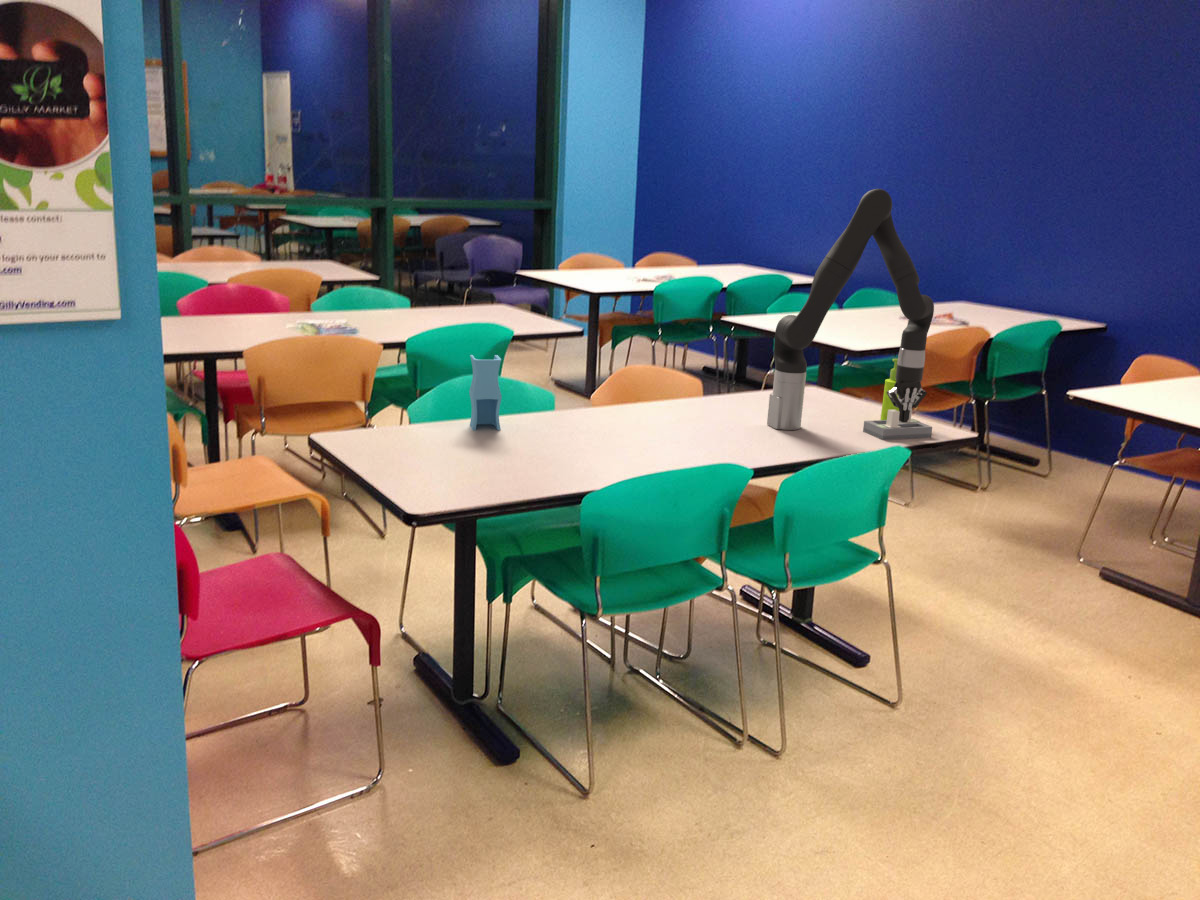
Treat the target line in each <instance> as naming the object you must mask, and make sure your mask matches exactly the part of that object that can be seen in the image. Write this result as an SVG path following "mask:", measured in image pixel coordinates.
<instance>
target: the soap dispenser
mask: <svg viewBox="0 0 1200 900" xmlns="http://www.w3.org/2000/svg"><path fill="white" fill-rule="evenodd" d="M891 360H892V362H893V363H894V365H893V368H890V373H889V378H887V379H885V380H884V386H883V387H884V388H883V389H884V390H883V395H882V402H881V403H882V404H881V412H880V419H879V420H887V414H888V410H894V409H895V410H898V411H899V408H897V407H895V406H894V405H893V404H892V402H891V400H890V398H889V396H888V395H887V391H891V390H892V389H893V388H894V385H895V383H896V370H897V362H898V358H892V359H891ZM897 398H898V394H897Z"/></svg>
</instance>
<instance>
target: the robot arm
mask: <svg viewBox="0 0 1200 900" xmlns="http://www.w3.org/2000/svg"><path fill="white" fill-rule="evenodd" d="M892 200H893V199H892V197H891V195H890V194H889V192H887V190H885V189H884V188H883V189H882V188H874V189H871V190H868V191H867V192H866V193H864V195H862V197H861V199H860V200H859V204H858V206H857V207H856V209H855V212H854V214H853V215H852V217H851V219H850V221H849V223H848V225H847V226H846V228H845V229H844V230H843V232H842V233H841V234H840V235H839V237H838V238H837V239H836V241H835V242H834V243H833V245H832V247H830V249H829V251H828V252H827V254H826V255H825V257H824V258H823V260H822V261H821V263H820V264H819V266H817V267H818V268H816V269H817V270H816V271H815V274H814V276H813V279H812V283H811V287H810V290H809V291H810V292H809V295H808V298H807V300H806V301H805V303H804V305H803V307H802V308H801V310H800V311H799V313H798V314H797V315H794V314H788V315H785V316H783V317H782V318H780V320H779V321H778V323H777V325H776V328H775V332H774V344H773V345H774V347H773V359H774V366H775V367H774V376H773V384H772V385H773V386H772V393H770V394H769V399H768V410H767V421H766V426H767V425H768V426H770V427H771V428H773V429H775V430H783V431H795V430H799V429H801V427H802V416H803V408H804V407H803V406H804V396H805V389H806V388H805V387H806V381H807V379H806V378H807V369H808V364H807V360H806V358H805V355H804V349H806V348H807V347H809V346H810V345H811V343H812V342H813V341H814V339H815V337H816V335H817V334H818V333H819V329H820V327H821V326H822V324H823V322H824V319H825V318H826V316H827V314H828V311H829V310H830V309H831V308H832V306H833V304H834V303H835V301H836V300H837V298H838V296H839V294H840V293H841V292H842V290H843V288H844V287H845V286H846V284H847V283H848V281H849V279H850V278H851V276H852V274H854V271H855V269H856V268H857V266H858V265H859V262H860V261H861V258H862V255H863V254H864V251H865V249H866V246H867V245H868V242H869V241H870V239H871V237H873V238H874V240H875V243H876V244H877V246H878V248H879V250H880V253H881V256H882V258H883V260H884V261H883V262H884V264H885V266H886V268H887V271H888V273H889V275H890V279H891V281H892V283H893V284H894V288H895V289H896V296H897V300H898V305H899V308H900V311H901V312H902V315H904V317H905V318H906V319H907V321H908V322H907V325H906V327H905V328H904V329H903V330H902V333H901V338H900V339H901V340H900V347H899V351H898V357H897V359H898V362H897V370H896V383H895V385H894V388H893V389H892V390H891V391H887V395H888V396H889V398H890V400H891V402H892V404H893V405H894V406H895V407H897V408H899V411H900V414H899V421H900V422H902V423H903V422H907V421H908V420H909V415H910V410H911V409H912V410H913V409H916V408H917V407H918V406H919V405H920V403H921V402H922V401H923V400H924V399H925V397H926V395H928V392H927V391H926V390H924V389H923V388H922V383H921V382H922V381H923V376H924V369H925V362H926V347H927V342H928V341H927V337H928V333H929V330H930V327H931V323H932V320H933V317H934V312H935V303H934V300H933V299H932V298H931V297H930V296H928V295H927V294H921V291H920V288H919V283H920V280H921V279H920V277H919V274H918V272H917V269H916V267H915V264H914V262H913V260H912V257H911V256H910V254H909V252H908V250H907V248H905V246H904V245H903V242H902V241H901V239H900V237H899V235H898V233H897V231H896V227H895V224H894V221H893V217H892V210H893V201H892ZM897 394H898V398H897Z"/></svg>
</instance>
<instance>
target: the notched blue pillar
mask: <svg viewBox="0 0 1200 900" xmlns="http://www.w3.org/2000/svg"><path fill="white" fill-rule="evenodd" d="M469 358H470V360H471V366H472V379H471V384H470V387H469V397H470V404H471V417H470V422H469V426H470V428H471V430H472V431H473V432H474V431H476V430H477V425H492V426H494V427H495V428H496V431H501V430H502V429H501V424H500V406H501V403H502V392H501V389H500V385H499V372H500V367H501V366H500V365H501V362H502V358H501V357H500V356H499V355H498V354H494V357H493V359H478V358H475V356H474V355H473V354H470V355H469Z"/></svg>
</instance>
